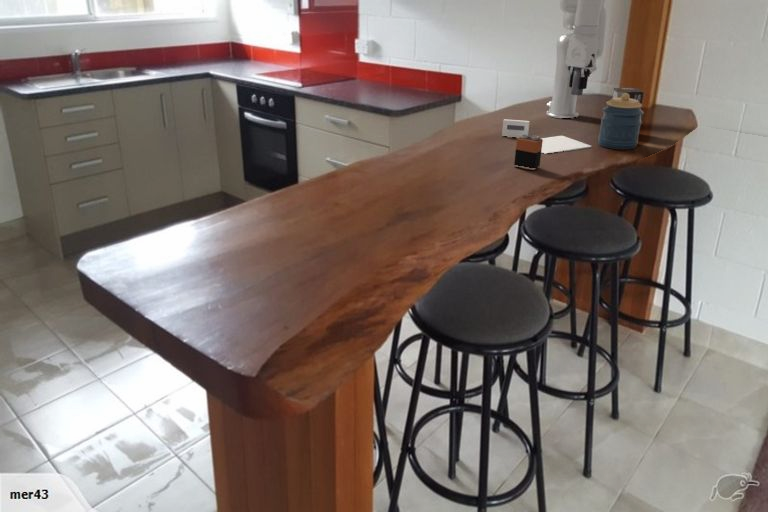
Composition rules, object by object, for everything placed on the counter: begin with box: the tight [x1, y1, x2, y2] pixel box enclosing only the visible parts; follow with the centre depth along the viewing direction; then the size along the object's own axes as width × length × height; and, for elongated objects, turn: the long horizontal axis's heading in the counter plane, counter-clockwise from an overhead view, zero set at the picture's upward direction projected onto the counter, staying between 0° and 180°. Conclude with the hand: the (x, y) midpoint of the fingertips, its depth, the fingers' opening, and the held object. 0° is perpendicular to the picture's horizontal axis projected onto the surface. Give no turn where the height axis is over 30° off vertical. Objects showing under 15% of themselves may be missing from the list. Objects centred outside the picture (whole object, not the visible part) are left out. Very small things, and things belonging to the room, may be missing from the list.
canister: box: [597, 93, 644, 151], centre depth 207 cm, size 13×13×18 cm
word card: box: [501, 118, 530, 139], centre depth 218 cm, size 1×9×6 cm, turn 74°
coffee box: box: [611, 87, 644, 110], centre depth 220 cm, size 9×6×16 cm
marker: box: [571, 66, 587, 96], centre depth 208 cm, size 4×4×11 cm
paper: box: [540, 135, 593, 155], centre depth 210 cm, size 15×20×1 cm
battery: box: [513, 135, 543, 168], centre depth 185 cm, size 4×7×10 cm, turn 54°
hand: (577, 87), depth 210 cm, fingers closed on marker, 3 cm apart
